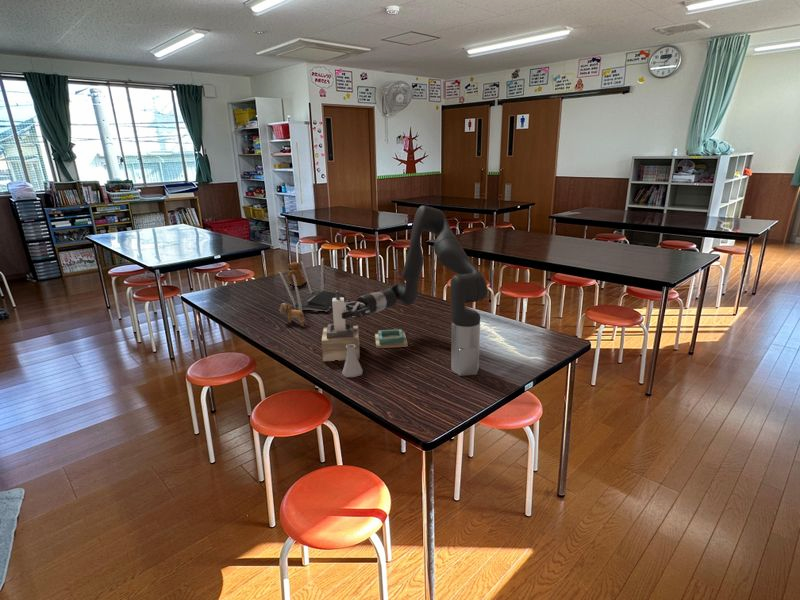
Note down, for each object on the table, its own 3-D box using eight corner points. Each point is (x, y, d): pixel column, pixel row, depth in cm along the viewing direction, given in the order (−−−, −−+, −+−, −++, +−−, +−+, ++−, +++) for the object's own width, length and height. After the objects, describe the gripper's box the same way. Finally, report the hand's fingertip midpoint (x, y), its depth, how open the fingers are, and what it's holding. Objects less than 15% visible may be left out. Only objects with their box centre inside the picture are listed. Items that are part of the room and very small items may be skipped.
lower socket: (407, 346, 171) (407, 339, 170) (376, 348, 170) (376, 341, 169) (404, 334, 183) (404, 327, 182) (375, 336, 182) (374, 329, 181)
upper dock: (359, 359, 162) (358, 333, 159) (323, 361, 161) (320, 335, 157) (359, 344, 174) (357, 320, 171) (325, 346, 173) (323, 322, 170)
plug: (345, 334, 163) (342, 292, 158) (334, 335, 163) (331, 293, 158) (346, 330, 167) (343, 289, 162) (335, 331, 167) (332, 290, 162)
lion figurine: (278, 323, 198) (276, 304, 196) (286, 319, 203) (283, 300, 200) (306, 327, 193) (304, 308, 190) (313, 323, 197) (311, 304, 195)
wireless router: (323, 317, 205) (319, 275, 198) (277, 314, 210) (272, 273, 204) (349, 295, 236) (346, 258, 229) (308, 293, 241) (305, 257, 235)
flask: (343, 379, 147) (341, 351, 144) (340, 370, 154) (338, 343, 151) (365, 376, 149) (363, 348, 146) (360, 366, 156) (359, 340, 153)
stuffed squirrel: (307, 281, 264) (305, 259, 260) (303, 288, 251) (301, 265, 247) (290, 282, 264) (288, 260, 260) (285, 289, 250) (283, 266, 246)
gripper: (360, 289, 175) (324, 298, 166) (382, 297, 165) (346, 307, 155) (361, 308, 178) (326, 318, 168) (383, 316, 167) (347, 328, 158)
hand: (335, 313), depth 162 cm, fingers open, 8 cm apart
